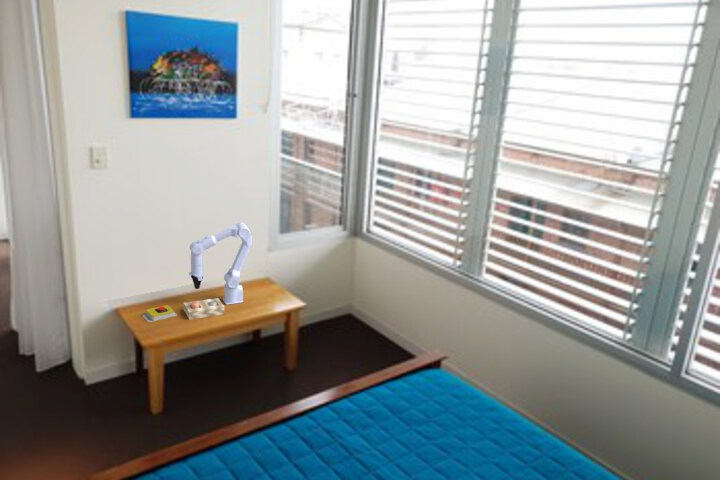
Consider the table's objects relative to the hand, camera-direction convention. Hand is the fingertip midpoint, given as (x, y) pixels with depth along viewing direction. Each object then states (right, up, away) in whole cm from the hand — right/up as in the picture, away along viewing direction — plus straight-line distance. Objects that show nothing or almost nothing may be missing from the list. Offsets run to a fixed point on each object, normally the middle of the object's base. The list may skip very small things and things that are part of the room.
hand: (197, 288), depth 299 cm
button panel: (+5, -12, -5) cm, 14 cm away
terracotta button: (+1, -11, -7) cm, 13 cm away
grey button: (+9, -11, -3) cm, 15 cm away
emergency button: (-16, -13, -12) cm, 24 cm away
